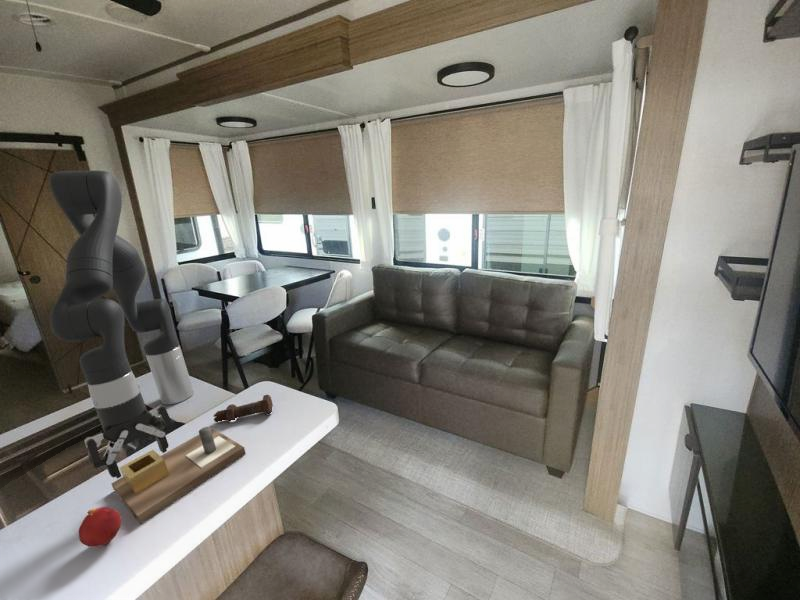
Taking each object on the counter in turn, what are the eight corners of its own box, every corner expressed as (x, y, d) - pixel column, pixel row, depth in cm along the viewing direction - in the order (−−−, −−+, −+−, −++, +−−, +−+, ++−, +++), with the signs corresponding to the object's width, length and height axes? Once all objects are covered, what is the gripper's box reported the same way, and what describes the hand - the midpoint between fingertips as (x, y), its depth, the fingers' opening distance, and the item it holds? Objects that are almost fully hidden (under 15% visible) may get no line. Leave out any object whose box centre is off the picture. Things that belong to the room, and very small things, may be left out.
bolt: (219, 427, 100) (274, 414, 102) (213, 429, 95) (270, 415, 98) (217, 406, 101) (271, 394, 104) (210, 407, 96) (267, 394, 99)
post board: (114, 490, 77) (101, 460, 75) (213, 433, 94) (205, 407, 92) (140, 524, 68) (127, 490, 65) (245, 454, 84) (238, 425, 82)
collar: (125, 482, 76) (119, 467, 75) (157, 464, 81) (152, 449, 80) (135, 494, 72) (129, 479, 71) (169, 474, 77) (164, 459, 76)
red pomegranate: (106, 529, 67) (91, 495, 65) (134, 527, 67) (120, 493, 65) (78, 559, 62) (61, 523, 60) (109, 557, 61) (93, 521, 59)
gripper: (150, 377, 79) (170, 438, 83) (67, 409, 68) (95, 478, 72) (163, 384, 74) (184, 449, 79) (76, 420, 64) (106, 493, 68)
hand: (141, 463), depth 75 cm, fingers open, 8 cm apart
